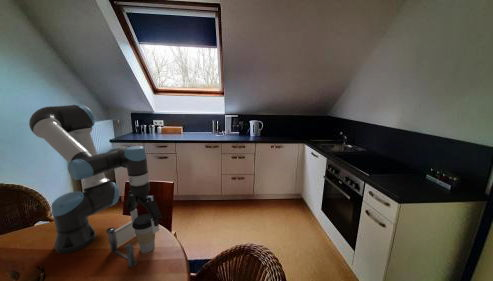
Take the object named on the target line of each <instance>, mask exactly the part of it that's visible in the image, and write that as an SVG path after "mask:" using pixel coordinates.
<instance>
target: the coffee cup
mask: <svg viewBox="0 0 493 281" xmlns="http://www.w3.org/2000/svg"><path fill="white" fill-rule="evenodd" d="M151 219H152V217H151V216H150V214H149V213H145V214H144V213H143V214H140V215H138V217H137V218H135V220H134V222H133V224H132V227H133V228H134V229H135V234H136V235H135V237H136V238H135V239H136V241H137V244H138V247H139V250H140V252H141V253H144V254H147V253H151V251H153V250H154V249H155V246H156V244H155V239H156V233H155V234H153V231H152V223H151Z"/></svg>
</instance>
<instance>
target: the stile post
mask: <svg viewBox="0 0 493 281" xmlns="http://www.w3.org/2000/svg"><path fill="white" fill-rule="evenodd" d="M133 245H134V244H133V243H131V242H128V243H126V244H125V250H126V256H127V258H128V259H127V263H128V267H130V268H134V267H135V266H136V264H135V261H136V259H135V254H134V253H135V252H134V246H133Z"/></svg>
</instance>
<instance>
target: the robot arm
mask: <svg viewBox="0 0 493 281" xmlns="http://www.w3.org/2000/svg"><path fill="white" fill-rule="evenodd" d="M95 120H96V119H95V115H94V114H93V112H92V110H91V109H90V108H89V107H87V106H86V105H83V104H72V105H71V104H70V105H69V104H68V105H57V106H45V107H41V108H39V109H37V110H36V111H34V112H33V113H32V115H30V118H29V122H28V123H29V125H28V126H29V129H30V131H31V132H32V133H33V135H35V136H36V137H37V138H40V139H44V140H45V142H46V143H47V144H48V145H49V146H50V147H51V148H52V149H54V151H56V152H57V153H58V154H59V155H60V156H62V158H63V159H64V160H65V161H66V162H67V171H68V173H69V174H70V177H71V178H72V180H75V181H79V180H80V181H81V180H84V186H83V188H82V189H83V192H82V191H80V190H76V191H75V190H74V191H72V192H67V193H65V194H63V195H60V196H58V197H57V198H56V199H54V201H52V203H51V215H52V217H53V221H54V225H55V229H56V237H55V240H54V250H55V252H56V253H58V254H63V255H65V254H71V253H74V252H77V251H79V250H82V249H85V248H86V247H88V246H90V245H91V244H92V243H93V242H94V241H95V240H96V238H97V237H96V236H97V235H96V231H95V229H94V227H93V226H92V225H91V223H90V222H89V217H90V216H93V215H95V214H97V213H100V212H101V211H104V210H106V209H109V208H111V207H112V206H113V205H116V204H117V203H118V202H119V199H120V189H119V186H118V185H117V183H116V182H113V181H111V179H109V178H108V177H106V176H105V173H106V172H110V171H113V170H116V169H118V168H125V169H126V170H127V172H126V173H127V175H128V176H127V178H128V183H129V191H128V192H127V194H128V196H127V200H126V205H125V209H128V212H129V213H130V218H131V220H130V221H132V224H133V222H134V220H135V218H137V217H138V216H139V215H138V209H137V206H138V205H139V204H140V205H142V207H144V208H145V210H146V211H147V214H150V216H151V217H152V219H151V223H152V231H153V234H155V235H156V234H157V233H158V232H159V231H160V222H159V219H161V218H163V215H162V213H161V211H160V208H159V205H158V204H157V202H156V198H155V195H153V194H152V195H150V194H149V192H150V190H151V185H150V184H151V183H150V175H149V170H148V160H147V159H148V158H147V154H146V148H145V147H144V146H142V145H131V146H128V147H126V148H122V147H114V148H111V149H109V150H108V151H107V152H103V153H98V152H97V149H96V146H95V144H94V140H93V138H92V134H91V133H92V131H93V127H94V126H95V124H96V122H95Z"/></svg>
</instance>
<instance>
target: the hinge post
mask: <svg viewBox="0 0 493 281" xmlns="http://www.w3.org/2000/svg"><path fill="white" fill-rule="evenodd" d="M115 230H116V228H115V227H113V226H112V227H108V228H107V229H106V234H107V236H108V241H109V242H108V244H109V248H110V252H111V253H115V251H118V247H117V246H116V240H115V233H114V231H115Z"/></svg>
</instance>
